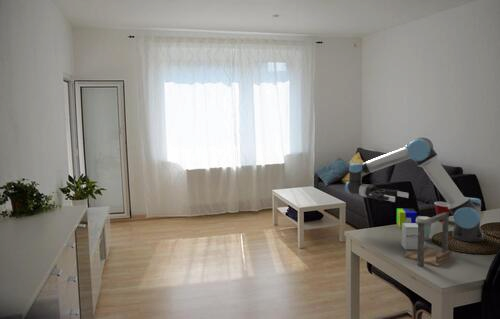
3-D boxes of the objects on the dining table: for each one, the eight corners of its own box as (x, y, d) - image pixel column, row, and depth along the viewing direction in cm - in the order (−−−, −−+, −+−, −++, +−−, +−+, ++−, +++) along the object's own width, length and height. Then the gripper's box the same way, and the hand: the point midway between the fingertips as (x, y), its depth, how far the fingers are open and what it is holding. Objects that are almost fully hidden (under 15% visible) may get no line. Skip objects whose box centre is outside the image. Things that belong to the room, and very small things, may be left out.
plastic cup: (451, 224, 230) (452, 206, 229) (432, 222, 236) (433, 204, 235) (452, 219, 240) (453, 202, 238) (434, 218, 245) (434, 200, 244)
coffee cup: (416, 234, 214) (416, 215, 213) (432, 236, 210) (432, 216, 209) (414, 239, 207) (414, 219, 205) (431, 241, 203) (431, 220, 201)
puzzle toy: (416, 228, 226) (416, 212, 225) (399, 227, 228) (399, 212, 227) (412, 223, 236) (413, 208, 235) (396, 223, 238) (396, 208, 237)
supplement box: (404, 249, 193) (405, 226, 191) (401, 244, 200) (401, 222, 198) (419, 249, 192) (420, 226, 190) (415, 244, 199) (415, 222, 197)
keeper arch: (399, 259, 180) (400, 218, 178) (426, 246, 196) (427, 208, 193) (432, 269, 167) (432, 225, 165) (458, 255, 183) (459, 214, 180)
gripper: (380, 193, 226) (413, 200, 209) (355, 200, 211) (388, 208, 194) (380, 182, 225) (413, 187, 208) (355, 188, 210) (389, 194, 193)
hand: (401, 197), depth 201 cm, fingers open, 13 cm apart
